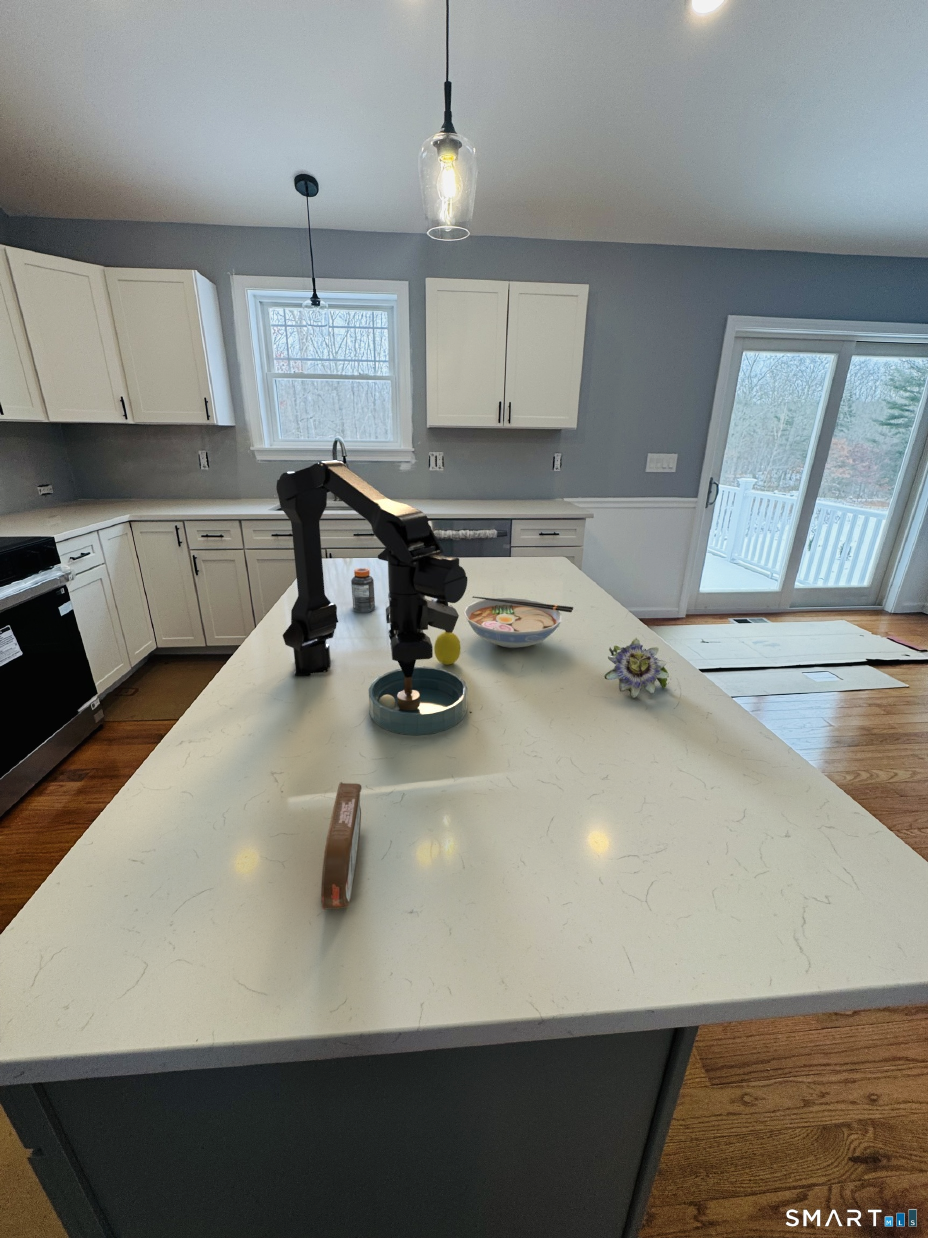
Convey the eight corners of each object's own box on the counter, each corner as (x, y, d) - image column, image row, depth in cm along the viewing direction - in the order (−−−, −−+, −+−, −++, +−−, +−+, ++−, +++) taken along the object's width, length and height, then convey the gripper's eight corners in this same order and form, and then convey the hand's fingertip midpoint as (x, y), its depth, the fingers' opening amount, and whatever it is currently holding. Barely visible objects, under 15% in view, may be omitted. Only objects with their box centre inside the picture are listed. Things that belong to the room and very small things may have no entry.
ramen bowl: (443, 651, 115) (443, 617, 112) (478, 618, 135) (479, 589, 132) (552, 672, 106) (555, 636, 103) (572, 633, 126) (576, 602, 123)
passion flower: (629, 720, 99) (603, 680, 94) (616, 684, 108) (591, 646, 103) (685, 695, 96) (660, 652, 91) (666, 661, 105) (642, 620, 100)
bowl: (371, 743, 82) (369, 718, 80) (369, 691, 97) (367, 670, 96) (475, 733, 85) (476, 709, 83) (457, 684, 100) (457, 663, 99)
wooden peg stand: (398, 711, 88) (396, 654, 84) (396, 700, 92) (394, 644, 88) (421, 709, 89) (420, 652, 85) (418, 698, 93) (417, 643, 89)
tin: (341, 821, 65) (337, 767, 62) (366, 820, 66) (363, 766, 63) (321, 929, 52) (313, 867, 48) (352, 927, 52) (347, 865, 49)
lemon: (457, 672, 105) (457, 637, 102) (431, 670, 106) (431, 634, 103) (462, 661, 110) (463, 627, 107) (437, 658, 111) (437, 625, 108)
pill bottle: (364, 604, 144) (362, 565, 139) (379, 608, 140) (377, 568, 136) (348, 609, 139) (345, 569, 135) (363, 614, 136) (361, 573, 132)
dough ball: (390, 696, 87) (399, 708, 88) (388, 688, 90) (398, 700, 91) (375, 706, 87) (385, 718, 88) (374, 697, 90) (384, 709, 91)
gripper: (466, 606, 76) (463, 698, 81) (445, 571, 93) (445, 649, 98) (390, 610, 73) (393, 703, 79) (384, 574, 90) (387, 653, 96)
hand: (408, 674), depth 88 cm, fingers closed on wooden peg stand
